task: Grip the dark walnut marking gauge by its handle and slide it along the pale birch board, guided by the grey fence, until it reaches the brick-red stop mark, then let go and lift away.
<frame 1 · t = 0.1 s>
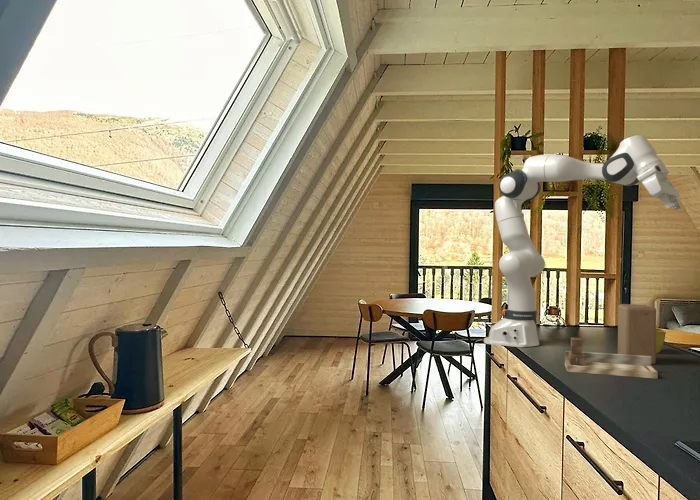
hand: (674, 208, 177), 54 cm above the worktop, tool tilted 30°, fingers open, 8 cm apart
marking gauge: (576, 350, 172), point 6 cm above the worktop, slide at 0.0 cm
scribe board: (608, 371, 170), on the worktop
flower pot: (650, 352, 203), on the worktop
wooden block: (636, 361, 186), on the worktop
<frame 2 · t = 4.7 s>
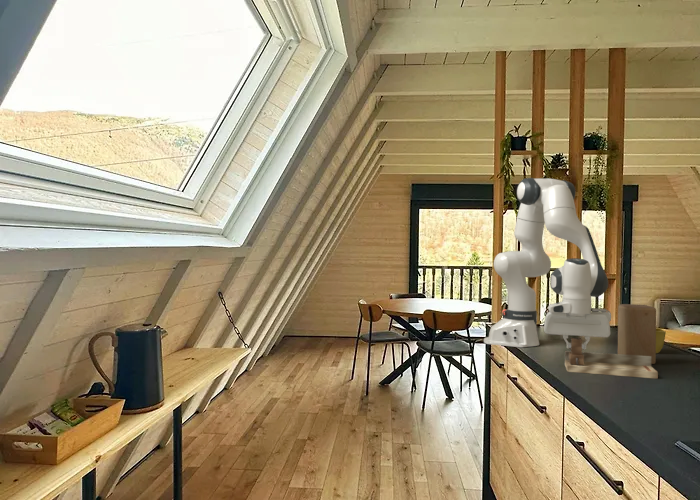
hand: (576, 348, 172), 7 cm above the worktop, tool pointing down, fingers closed on marking gauge, 3 cm apart
marking gauge: (576, 350, 172), point 6 cm above the worktop, slide at 0.0 cm, touching gripper
everything else where it was.
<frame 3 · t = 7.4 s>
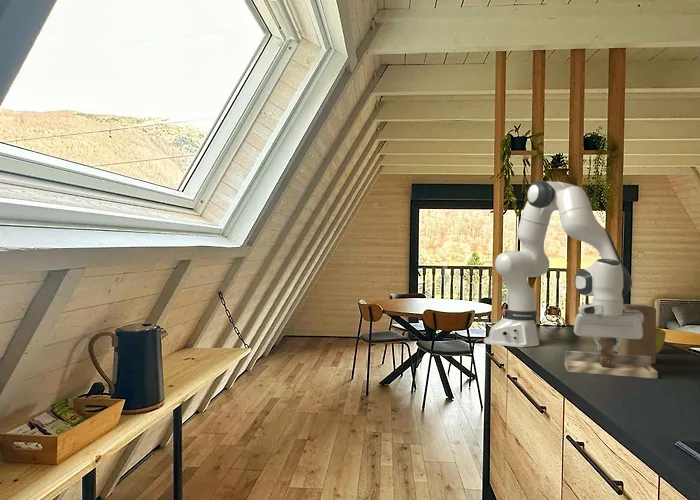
hand: (607, 350, 169), 7 cm above the worktop, tool pointing down, fingers closed on marking gauge, 3 cm apart
marking gauge: (607, 352, 169), point 6 cm above the worktop, slide at 9.4 cm, touching gripper
everything else where it was.
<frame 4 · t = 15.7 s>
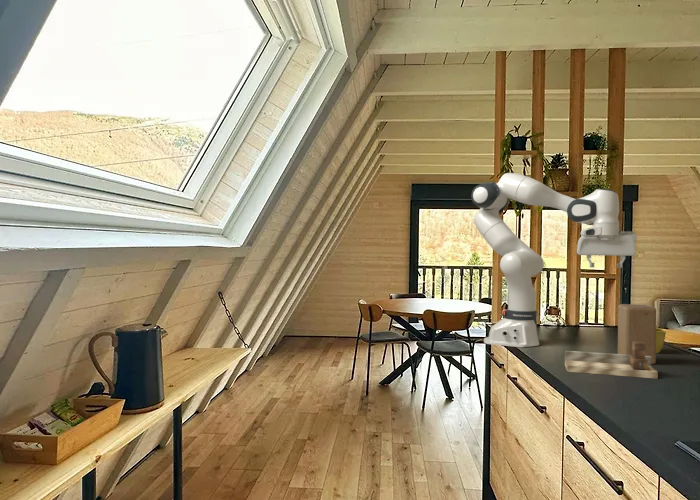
hand: (605, 267, 197), 33 cm above the worktop, tool pointing down, fingers open, 8 cm apart
marking gauge: (638, 355, 166), point 6 cm above the worktop, slide at 18.5 cm
everything else where it was.
at the end: marking gauge slide at 18.5 cm; the gripper is holding nothing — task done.
